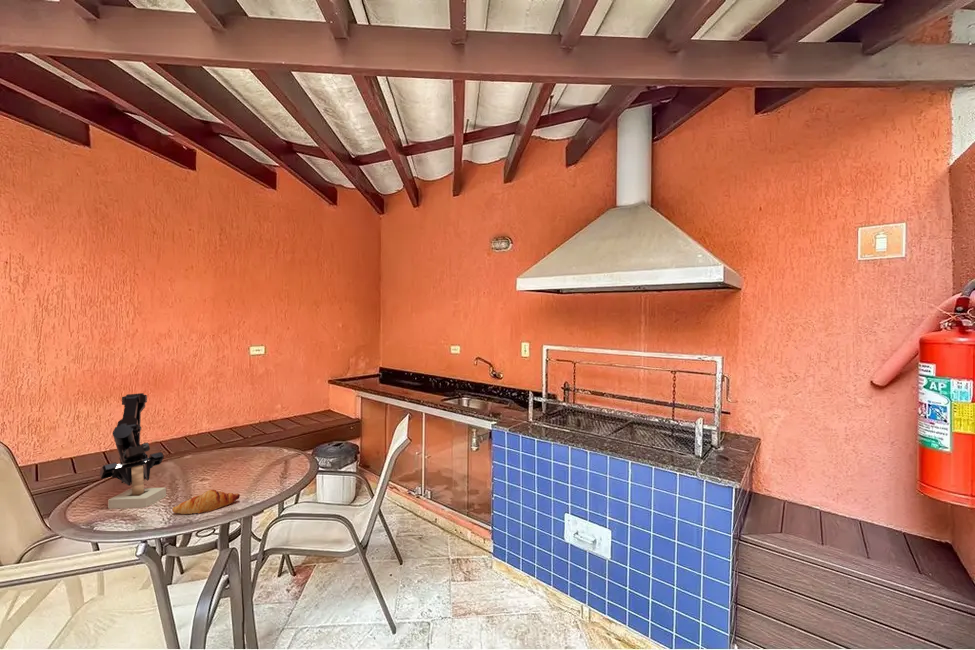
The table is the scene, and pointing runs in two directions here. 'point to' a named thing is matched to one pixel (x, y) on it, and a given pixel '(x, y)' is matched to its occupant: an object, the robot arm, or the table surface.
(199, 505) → the croissant
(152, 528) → the table surface
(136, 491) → the peg
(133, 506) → the socket block
